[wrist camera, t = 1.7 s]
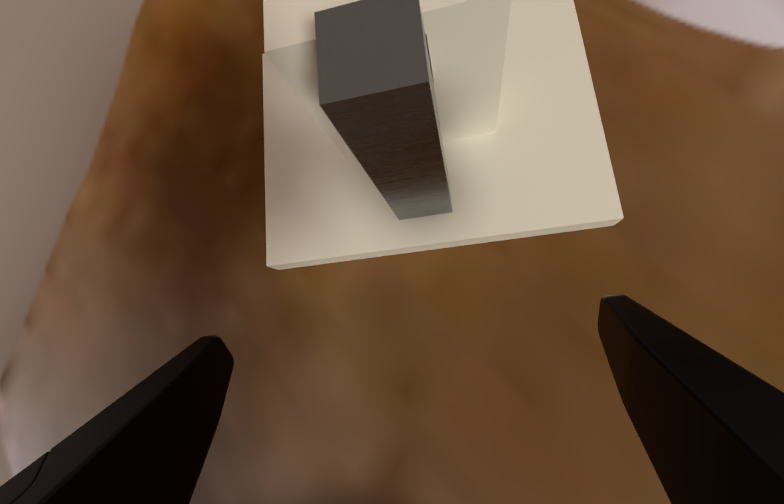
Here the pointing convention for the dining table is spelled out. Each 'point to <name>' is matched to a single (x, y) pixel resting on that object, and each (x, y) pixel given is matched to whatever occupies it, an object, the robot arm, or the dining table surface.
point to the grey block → (385, 100)
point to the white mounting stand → (459, 134)
